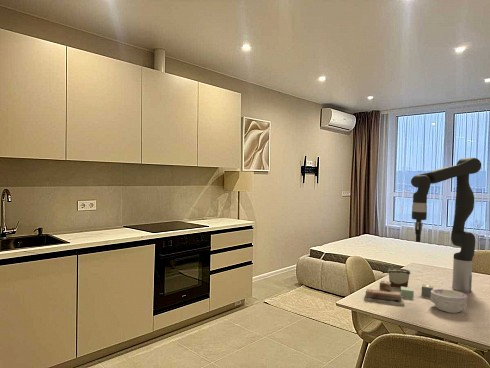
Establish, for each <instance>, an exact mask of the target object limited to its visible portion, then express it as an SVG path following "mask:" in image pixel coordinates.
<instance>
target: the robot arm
mask: <svg viewBox="0 0 490 368" xmlns="http://www.w3.org/2000/svg"><path fill="white" fill-rule="evenodd" d="M481 169H482V162H481V160H480V159H478V158H476V157H464V158H463V157H462V158H460V159H458V160H457V163H456V165H451V166H447V167H441V168H438V169H434V170H431V171H429V172H424V173H420V174H415V175H414V176H413V177H412V178H411V180H410V184H411V186H413V187H414V188H417V191H415V192H414V193H413V195H412V206H411V220H415V221H416V222H414V231H415V233H414V234H415V242H416V243H420V242H421V235H422V232H423V225H424V223H423V222H422V221H426V220H427V217H428V205H427V203H428V194H429V191H430V188H431V184H437V183H440V182H444V181H446V180H450V179H453V178H456V189H455V191H456V192H455V194H456V195H455V200H454V201H455V204H454V217H453V223H452V224H453V225H452V229H451V234H450V235H451V236H450V239H451V240H450V241H451V244H452V245H454V246H456V247H459V248H460V251H458V252H454V254H453V259H452V260H453V264H452V281H451V282H452V284H451V285H452V288H451V289H453V290H454V291H457V292H463V293H464V292H465V293H467V292H469V293H471V292H472V281H473V280H472V279H473V259H474V256H475V251H476V249H475V248H476V236H475V234H474V233H473V232H469V231H465V225H466V221H467V220H468V219H469V217H470V216H471V215H472V213H473V211H474V209H475V194H474V192H473V190H472V187H471V185H470V175H474V174H477V173H478V172H480V170H481Z"/></svg>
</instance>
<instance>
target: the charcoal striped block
mask: <svg viewBox="0 0 490 368" xmlns="http://www.w3.org/2000/svg"><path fill="white" fill-rule="evenodd" d="M433 289H434V285H429V284H422V285H421V296H422V297H426V298H430V297H431V290H433Z"/></svg>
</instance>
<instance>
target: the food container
mask: <svg viewBox="0 0 490 368" xmlns="http://www.w3.org/2000/svg"><path fill="white" fill-rule="evenodd" d="M387 274H388V279H389V281H388V282H391V289H392V288H395V289H396V288H397V289H401V287H408V285H409V279H410V275H411V271H410V270H409V269H406V268H400V267H390V268H388V270H387ZM408 288H409V287H408Z"/></svg>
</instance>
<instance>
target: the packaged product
mask: <svg viewBox="0 0 490 368" xmlns="http://www.w3.org/2000/svg"><path fill="white" fill-rule="evenodd" d="M364 295H365V298H364V300H365V301H366V302H374V303H378V304H386V305H393V306H401V307H404V306H405V301H404V300H403V299H404V298H403V297H401V293H398V292H393V291H391V292H386V291H379V289H372V288H367V289H366V290H365V294H364Z"/></svg>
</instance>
